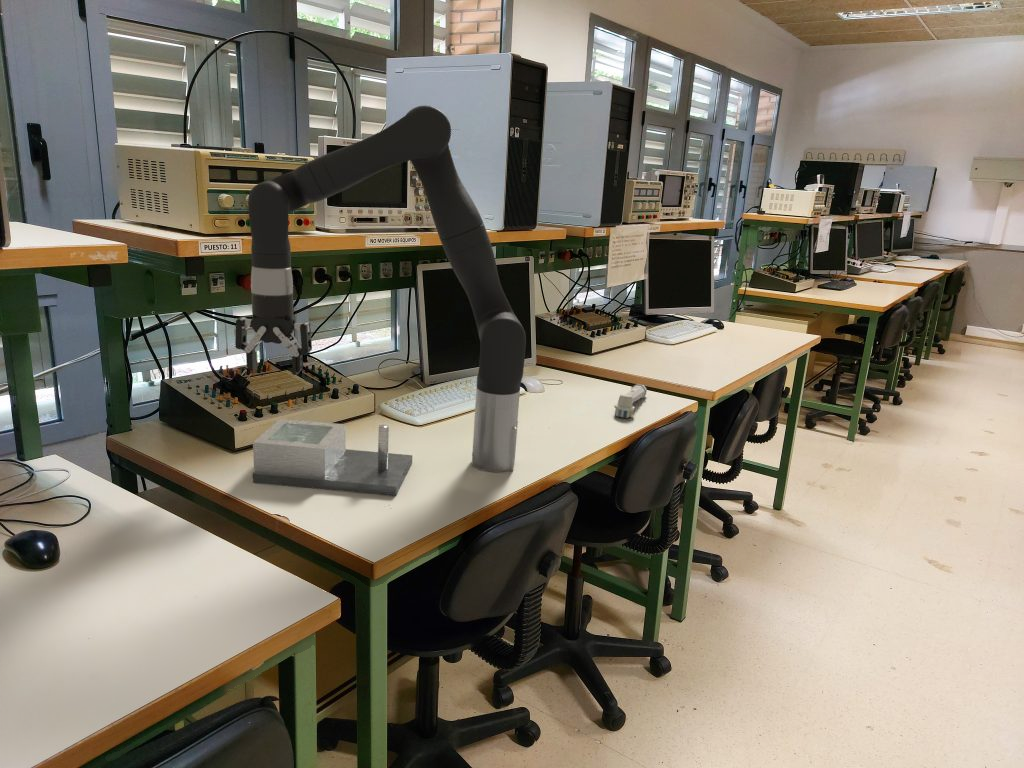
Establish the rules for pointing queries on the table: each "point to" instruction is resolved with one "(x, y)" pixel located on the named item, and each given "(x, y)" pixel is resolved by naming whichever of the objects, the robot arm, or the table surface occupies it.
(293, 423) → the grey recessed block
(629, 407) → the grey handheld tool
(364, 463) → the grey base with peg
